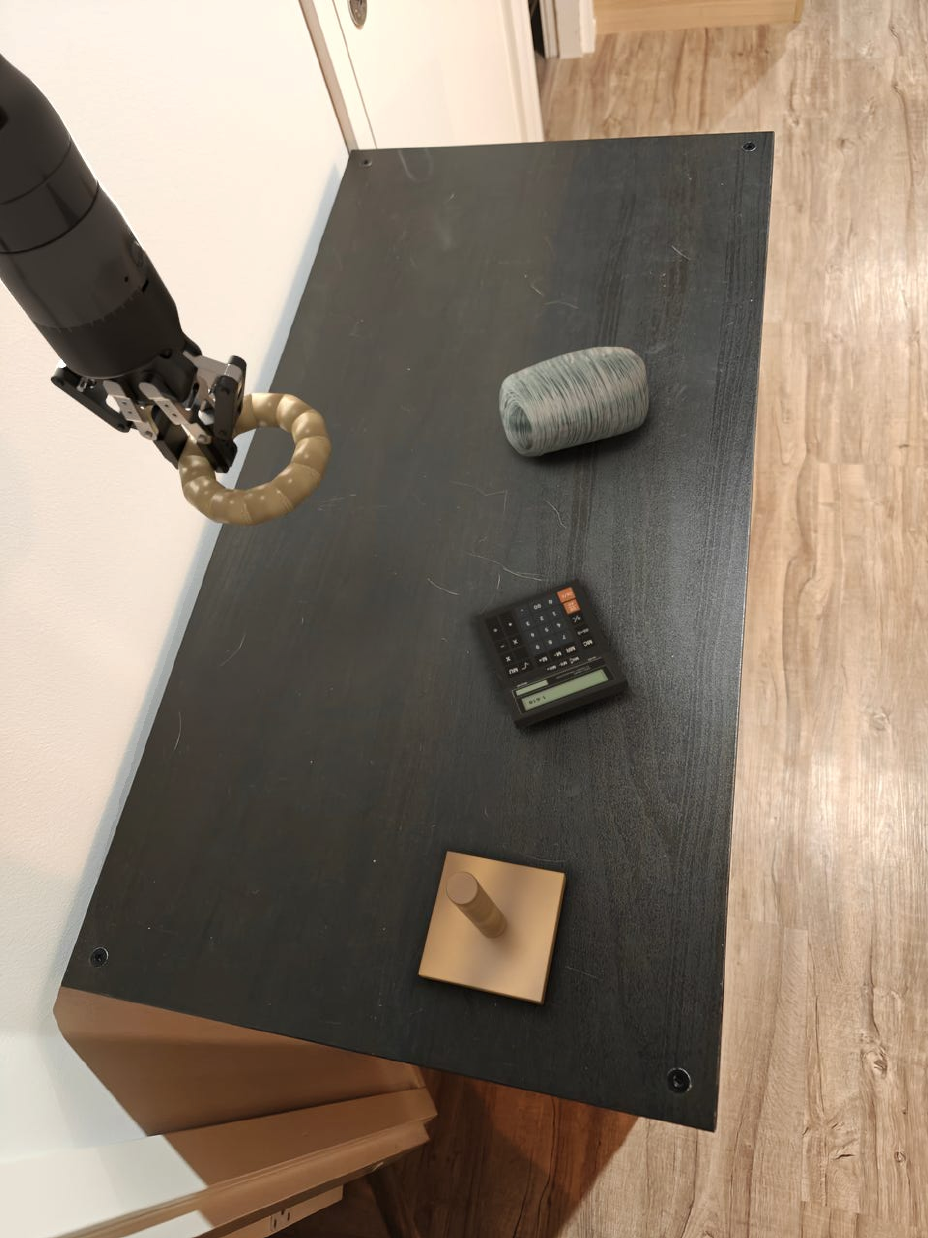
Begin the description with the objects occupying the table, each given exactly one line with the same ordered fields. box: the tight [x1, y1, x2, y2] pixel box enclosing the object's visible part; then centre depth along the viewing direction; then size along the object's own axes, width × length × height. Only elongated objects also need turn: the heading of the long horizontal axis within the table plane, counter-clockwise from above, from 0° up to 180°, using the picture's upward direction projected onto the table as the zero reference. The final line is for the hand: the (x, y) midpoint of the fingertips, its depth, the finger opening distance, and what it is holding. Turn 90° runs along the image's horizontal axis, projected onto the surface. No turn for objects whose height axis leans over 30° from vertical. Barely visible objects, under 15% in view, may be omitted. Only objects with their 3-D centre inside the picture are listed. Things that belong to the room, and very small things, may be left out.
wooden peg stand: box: [418, 850, 567, 1006], centre depth 64 cm, size 9×9×14 cm
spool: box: [498, 345, 650, 458], centre depth 86 cm, size 14×10×10 cm
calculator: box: [475, 578, 630, 730], centre depth 78 cm, size 9×12×3 cm
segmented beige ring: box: [177, 391, 333, 527], centre depth 66 cm, size 11×11×2 cm
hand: (207, 461), depth 68 cm, fingers closed on segmented beige ring, 2 cm apart
